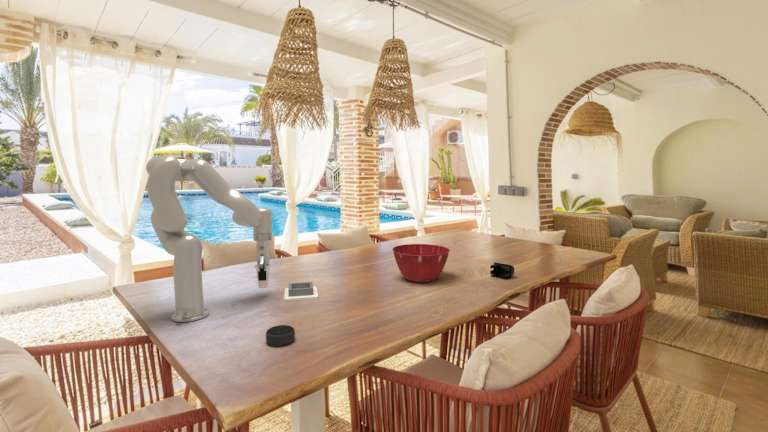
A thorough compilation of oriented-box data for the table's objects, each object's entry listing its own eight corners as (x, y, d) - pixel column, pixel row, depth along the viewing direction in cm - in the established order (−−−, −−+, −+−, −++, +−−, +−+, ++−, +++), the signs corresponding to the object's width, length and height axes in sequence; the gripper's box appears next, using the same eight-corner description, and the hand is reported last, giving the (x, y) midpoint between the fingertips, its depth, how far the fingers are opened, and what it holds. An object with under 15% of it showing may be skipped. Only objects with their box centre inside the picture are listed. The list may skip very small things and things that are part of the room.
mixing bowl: (460, 278, 203) (461, 248, 201) (426, 290, 182) (426, 257, 180) (416, 269, 222) (416, 241, 220) (380, 279, 201) (380, 249, 200)
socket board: (318, 298, 172) (317, 289, 171) (284, 301, 169) (283, 292, 168) (316, 288, 187) (316, 280, 187) (285, 290, 184) (284, 282, 184)
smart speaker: (297, 335, 133) (296, 323, 133) (292, 347, 124) (291, 334, 124) (270, 336, 133) (269, 324, 133) (263, 347, 124) (262, 335, 124)
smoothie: (262, 289, 169) (262, 256, 168) (252, 287, 172) (251, 255, 171) (274, 286, 174) (273, 254, 173) (263, 284, 178) (263, 253, 177)
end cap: (514, 277, 203) (514, 264, 203) (506, 280, 199) (507, 266, 198) (497, 274, 211) (497, 261, 210) (489, 276, 206) (489, 263, 205)
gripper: (270, 239, 164) (270, 283, 165) (272, 234, 181) (273, 273, 182) (251, 239, 162) (251, 283, 164) (255, 234, 179) (255, 274, 181)
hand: (263, 278), depth 173 cm, fingers closed on smoothie, 6 cm apart
